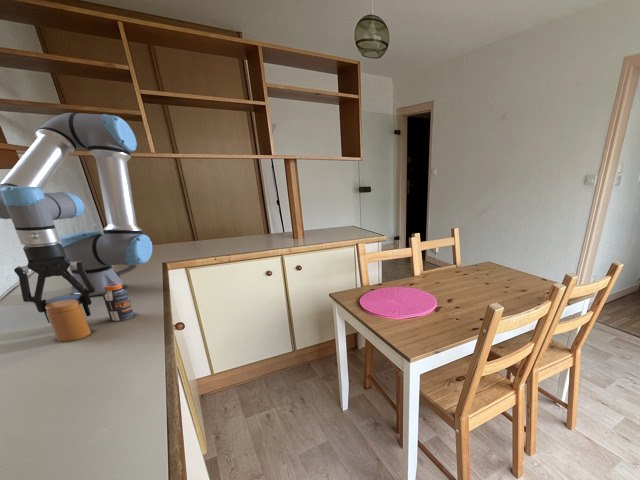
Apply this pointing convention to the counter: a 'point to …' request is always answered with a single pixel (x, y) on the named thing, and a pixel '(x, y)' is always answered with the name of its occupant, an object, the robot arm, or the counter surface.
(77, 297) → the lid
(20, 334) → the counter surface
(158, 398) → the counter surface
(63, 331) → the jar
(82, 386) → the counter surface
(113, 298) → the pill bottle
